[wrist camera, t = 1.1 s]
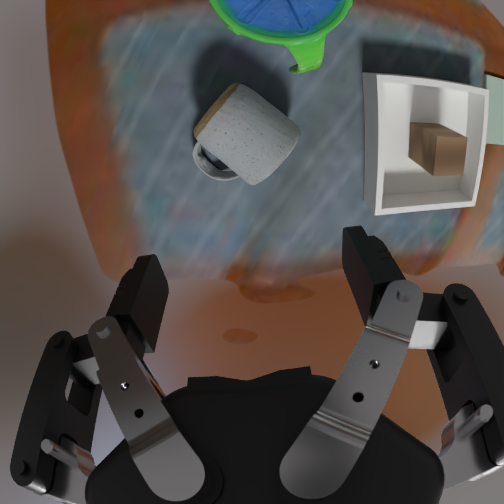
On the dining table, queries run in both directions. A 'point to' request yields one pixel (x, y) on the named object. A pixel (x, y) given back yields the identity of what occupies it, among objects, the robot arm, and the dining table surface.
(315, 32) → the snack cup
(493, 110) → the sage mat
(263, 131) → the ceramic mug
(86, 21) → the dining table surface
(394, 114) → the white bin
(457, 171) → the walnut block
